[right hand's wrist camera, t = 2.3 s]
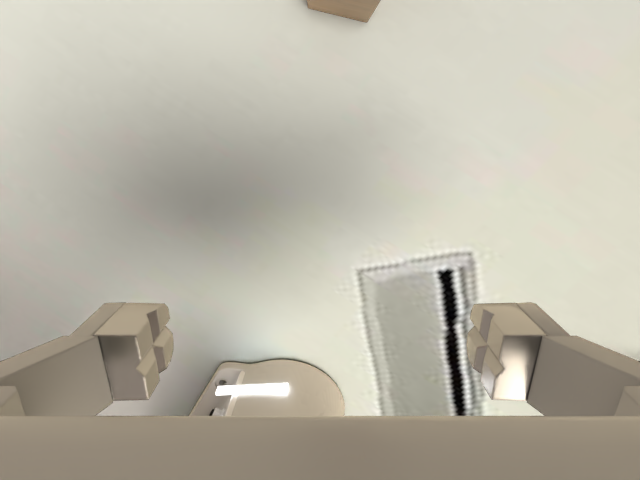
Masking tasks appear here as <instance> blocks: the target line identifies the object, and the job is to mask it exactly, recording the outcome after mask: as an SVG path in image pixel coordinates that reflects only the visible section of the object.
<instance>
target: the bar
mask: <svg viewBox="0 0 640 480" xmlns="http://www.w3.org/2000/svg"><path fill="white" fill-rule="evenodd" d="M379 2H380V0H307V4H308V8H309V9H313V10H317V11H322V12H326V13H330V14H334V15H338V16H342V17H346V18H350V19H354V20H359V21H363V22H368V20H369V19H370V17H371V15H372V14H373V12H374V10H375V9H376V7H377V5H378V4H379Z"/></svg>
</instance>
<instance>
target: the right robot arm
mask: <svg viewBox="0 0 640 480" xmlns="http://www.w3.org/2000/svg"><path fill="white" fill-rule="evenodd" d="M169 319H170V315H169V310H168V307H167V306H166V305H165V304H163V303H126V302H123V303H105V304H103V305H102V306H101V307H100V308H99V309H98V310H97V311H96V312H95V313H94V314H93V315H92V316H90V317H89V318H88V319H87V320H86V321H85V322H84V323H83V324H82V325H81V326H80V327H79V328H77V329H76V330H75V331H74V332H73V333H72V334H71V335H70V336H62V337H59V338H57V339H54V340H52V341H50V342H47V343H45V344H42V345H40V346H37V347H35V348H32V349H30V350H28V351H25V352H23V353H20V354H18V355H15V356H13V357H11V358H8V359H6V360H3V361H1V362H0V480H640V362H639V361H637V360H634V359H632V358H629V357H627V356H624V355H622V354H620V353H617V352H615V351H612V350H610V349H607V348H605V347H603V346H600V345H598V344H595V343H593V342H590V341H588V340H586V339H583V338H581V337H578V336H570V335H569V334H568V333H567V332H566V331H565V330H564V329H563V328H562V327H560V326H559V325H558V324H557V323H556V322H555V321H554V320H553V319H552V318H551V317H550V316H549V315H547V314H546V313H545V312H544V311H543V310H542V309H541V308H540V307H539V306H538V305H537V304H535V303H531V302H527V303H486V304H474V305H473V307H472V310H471V315H470V319H471V321H472V322H473V324H474V325H475V326H474V327H473V328H472V329H471V330H470V331H469V332H468V334H467V343H466V346H467V355H468V358H469V361H470V363H471V365H472V367H473V369H475V370H476V371H478V372H480V373H481V380H480V381H481V383H482V384H483V386H484V388H485V389H486V391H487V393H488V395H489V396H490V398H491V400H518V401H527V403H529V404H530V405H531V406H533V407H534V408H535V409H536V410H538V411H539V412H540V413H542V414H543V415H544V416H344V413H345V406H344V400H343V397H342V394H341V392H340V390H339V388H338V387H337V385H336V384H335V383H334V381H333V380H332V379H331V378H330V377H329V376H327V375H326V374H325V373H323V372H322V371H320V370H319V369H317V368H315V367H313V366H311V365H308V364H305V363H302V362H298V361H293V360H269V361H264V362H259V363H254V364H245V363H237V362H225V363H222V364H221V365H220V366H219V367H218V369H217V370H216V372H215V374H214V375H213V377H212V378H211V380H210V382H209V383H208V385H207V387H206V388H205V390H204V392H203V393H202V395H201V396H200V398H199V400H198V401H197V403H196V405H195V406H194V408H193V409H192V411H191V413H190V414H189V416H96V415H97V414H98V413H100V412H101V411H102V410H104V409H105V408H106V407H108V406H109V405H110V404H112V403H113V401H121V400H149V398H150V396H151V395H152V393H153V391H154V389H155V388H156V386H157V384H158V383H159V381H160V380H159V373H160V372H162V371H164V370H165V369H167V367H168V365H169V363H170V361H171V358H172V354H173V334H172V332H171V331H170V330H169V329H168V328H167V327H166V326H165V325H166V324H167V322H168V321H169ZM222 380H225V381H222Z"/></svg>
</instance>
